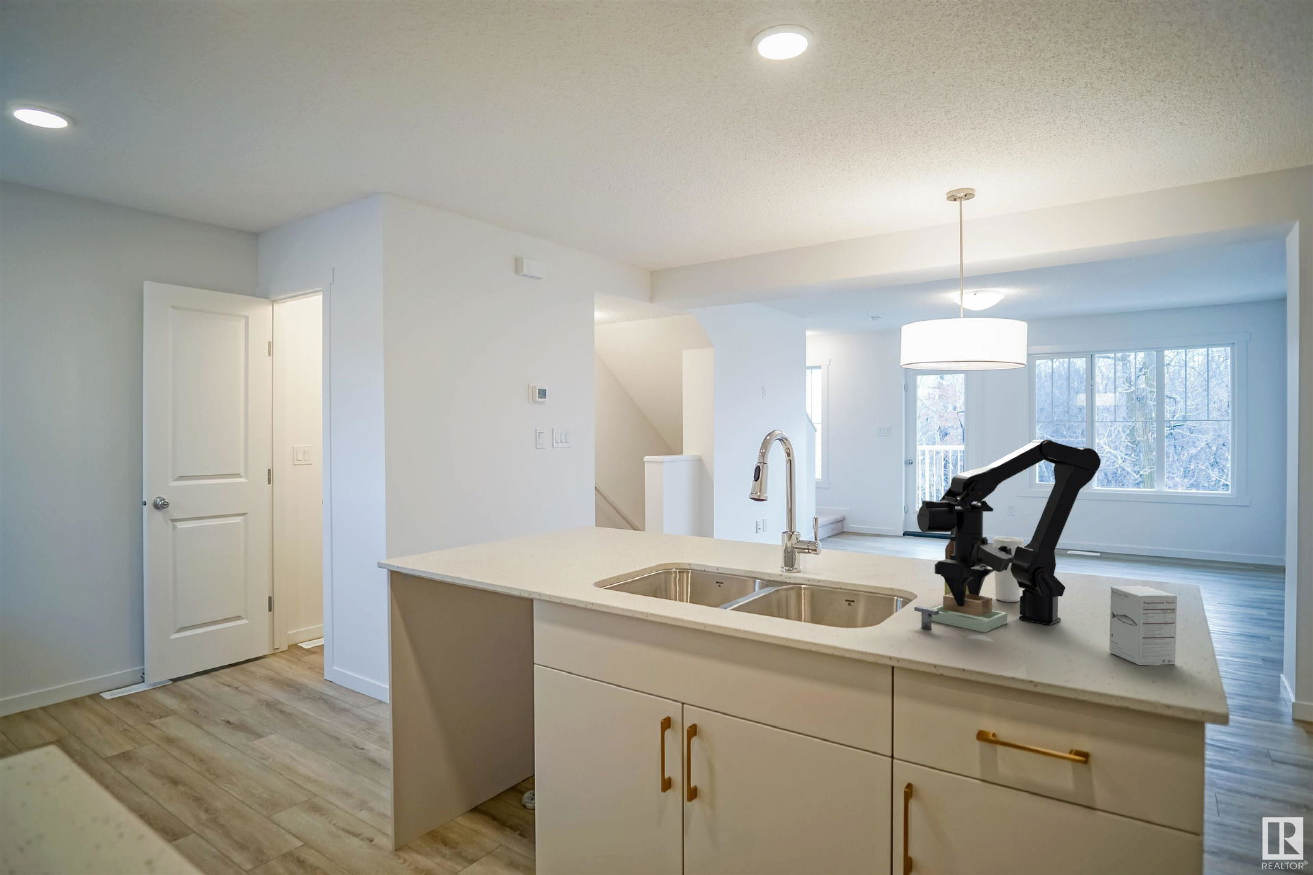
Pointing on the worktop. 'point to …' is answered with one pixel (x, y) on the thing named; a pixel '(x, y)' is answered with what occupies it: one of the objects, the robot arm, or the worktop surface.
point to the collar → (969, 604)
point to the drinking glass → (1007, 572)
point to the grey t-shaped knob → (926, 616)
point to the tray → (971, 619)
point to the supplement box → (1143, 625)
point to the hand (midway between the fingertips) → (967, 603)
